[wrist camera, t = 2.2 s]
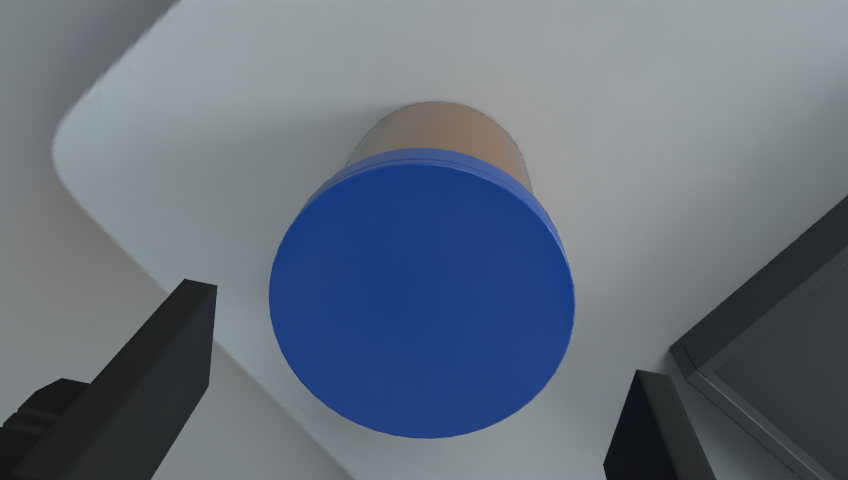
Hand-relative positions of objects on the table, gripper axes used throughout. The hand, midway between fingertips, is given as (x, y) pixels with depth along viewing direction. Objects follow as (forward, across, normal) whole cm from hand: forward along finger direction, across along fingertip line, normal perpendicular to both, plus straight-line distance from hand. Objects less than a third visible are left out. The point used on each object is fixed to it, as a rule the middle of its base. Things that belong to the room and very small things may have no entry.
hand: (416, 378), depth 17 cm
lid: (+4, 0, 0) cm, 4 cm away
